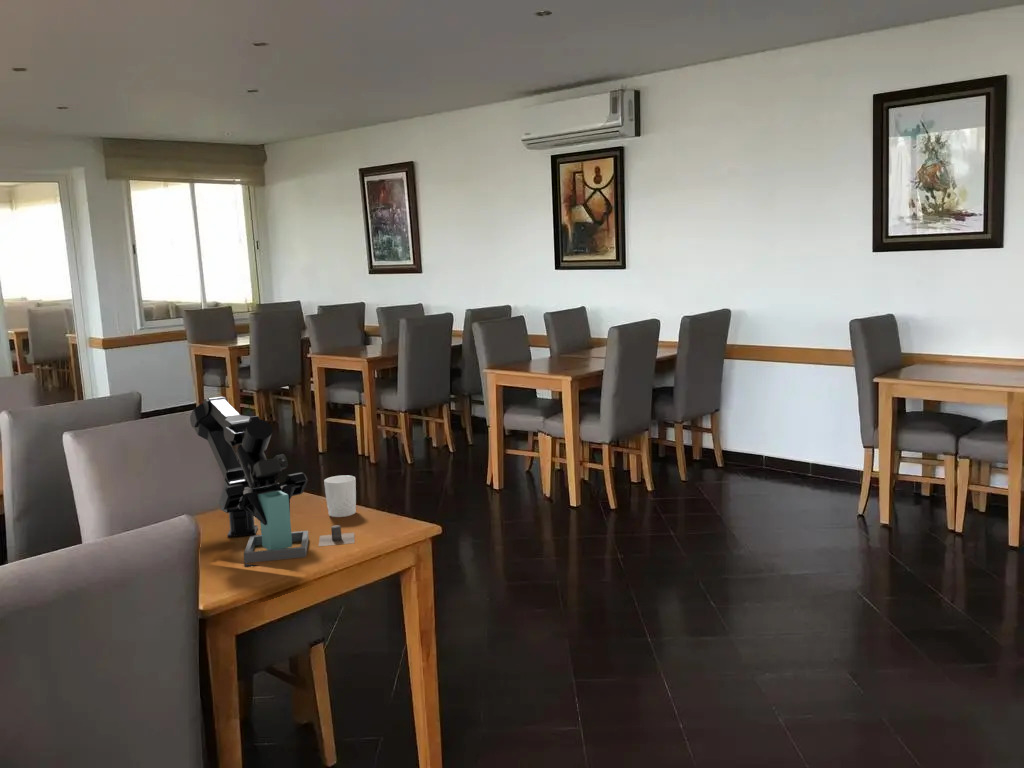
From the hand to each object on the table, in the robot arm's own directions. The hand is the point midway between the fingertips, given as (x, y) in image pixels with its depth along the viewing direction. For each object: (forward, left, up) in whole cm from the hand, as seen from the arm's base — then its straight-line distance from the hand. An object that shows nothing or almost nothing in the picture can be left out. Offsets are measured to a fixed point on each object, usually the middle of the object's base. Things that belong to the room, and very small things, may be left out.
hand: (277, 521), depth 192 cm
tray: (-1, -1, -8) cm, 8 cm away
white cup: (-27, +13, -8) cm, 31 cm away
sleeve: (-1, -1, -6) cm, 6 cm away
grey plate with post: (-5, +12, -8) cm, 16 cm away
